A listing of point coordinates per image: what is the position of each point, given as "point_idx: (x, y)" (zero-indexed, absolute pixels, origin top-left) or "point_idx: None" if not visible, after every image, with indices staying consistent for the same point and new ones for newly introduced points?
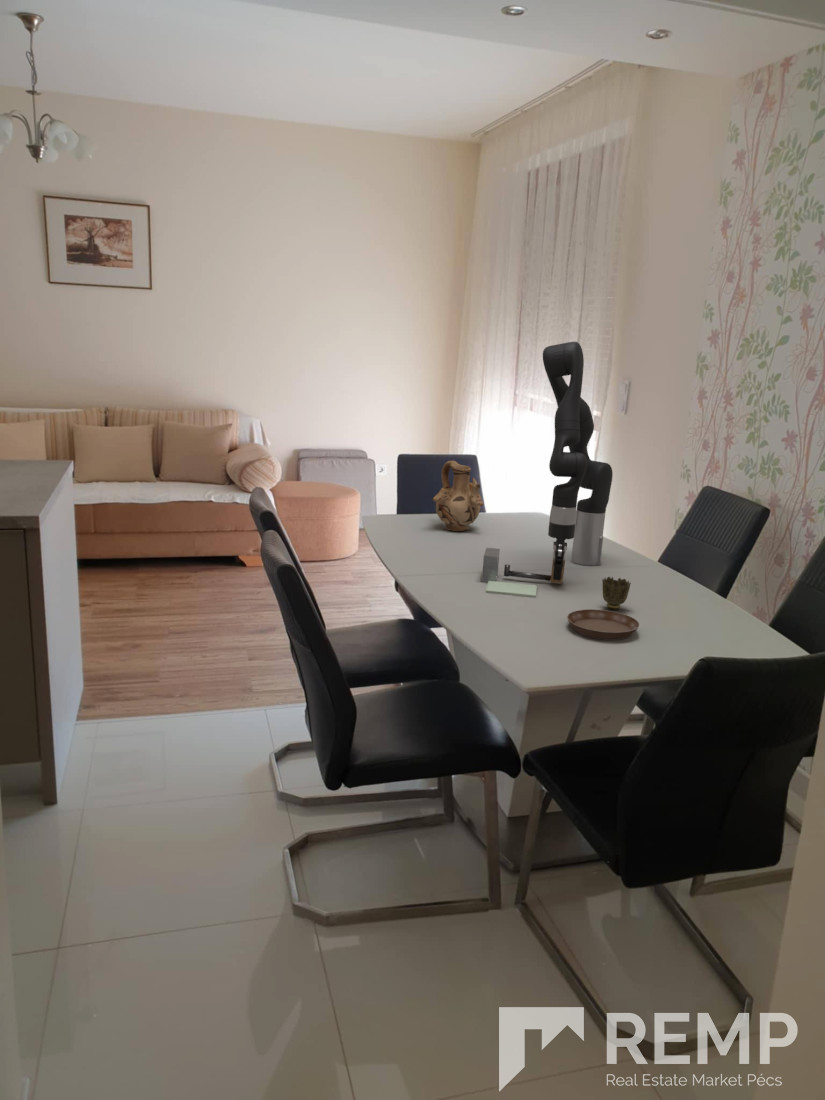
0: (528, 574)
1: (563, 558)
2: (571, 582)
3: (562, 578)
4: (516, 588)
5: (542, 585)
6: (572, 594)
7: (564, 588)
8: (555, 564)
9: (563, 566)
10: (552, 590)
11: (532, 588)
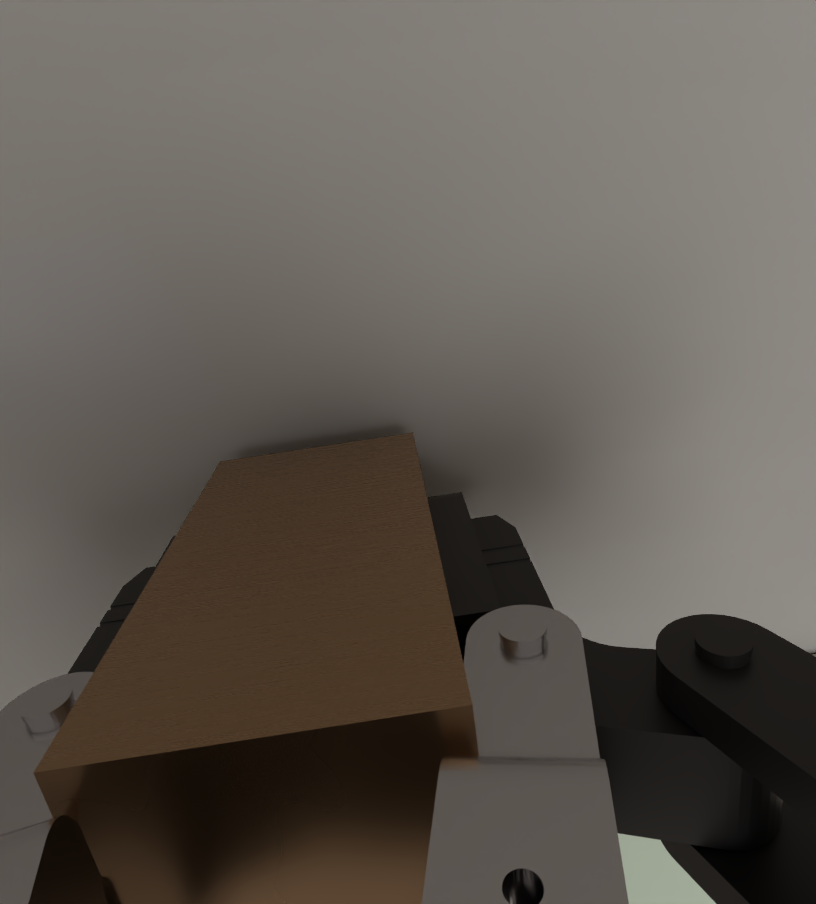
0: None
1: (611, 831)
2: (63, 318)
3: (420, 472)
4: None
5: None
6: (747, 206)
7: (470, 371)
8: (808, 823)
9: (448, 607)
10: (643, 505)
11: None
